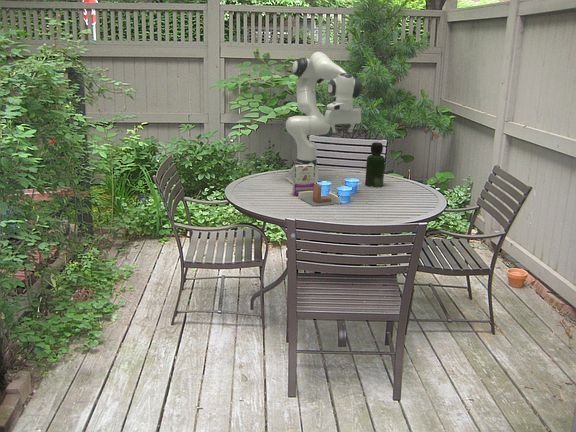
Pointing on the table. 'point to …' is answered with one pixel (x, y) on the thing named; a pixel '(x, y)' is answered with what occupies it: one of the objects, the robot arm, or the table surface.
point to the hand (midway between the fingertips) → (342, 132)
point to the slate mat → (311, 202)
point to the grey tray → (310, 194)
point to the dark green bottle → (375, 166)
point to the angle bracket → (319, 195)
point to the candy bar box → (303, 178)
